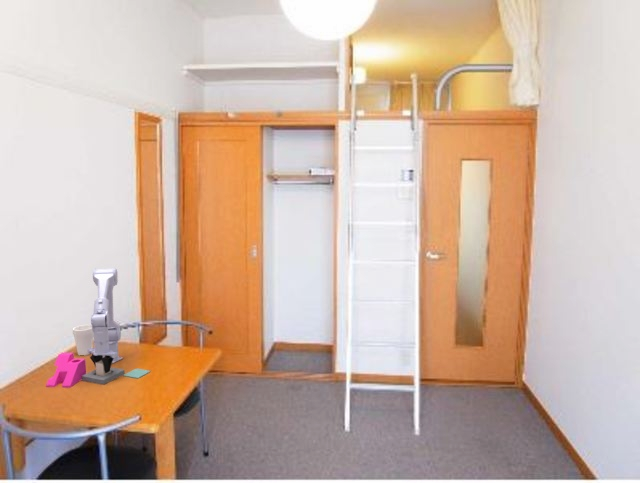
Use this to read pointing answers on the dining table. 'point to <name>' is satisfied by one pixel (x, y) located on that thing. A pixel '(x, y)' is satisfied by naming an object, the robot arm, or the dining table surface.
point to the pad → (136, 373)
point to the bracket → (67, 370)
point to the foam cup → (83, 338)
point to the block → (100, 369)
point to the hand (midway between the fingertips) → (103, 371)
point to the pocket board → (103, 379)
